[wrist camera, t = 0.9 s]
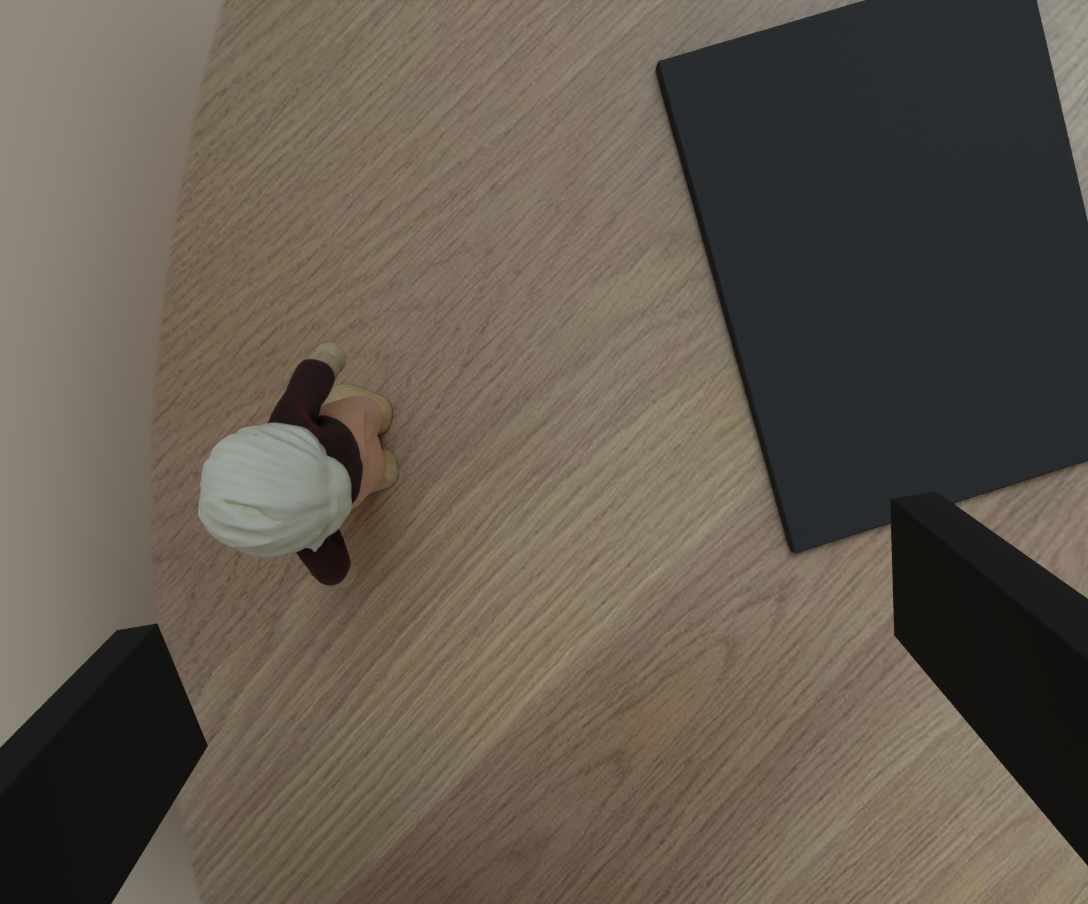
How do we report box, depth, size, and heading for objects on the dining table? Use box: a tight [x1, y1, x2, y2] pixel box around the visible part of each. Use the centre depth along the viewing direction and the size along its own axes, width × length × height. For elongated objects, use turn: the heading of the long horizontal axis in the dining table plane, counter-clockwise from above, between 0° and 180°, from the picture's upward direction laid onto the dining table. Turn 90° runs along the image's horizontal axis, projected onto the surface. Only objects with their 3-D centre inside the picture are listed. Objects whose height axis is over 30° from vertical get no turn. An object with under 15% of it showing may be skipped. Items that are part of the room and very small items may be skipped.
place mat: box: [656, 0, 1088, 553], centre depth 29 cm, size 20×15×1 cm
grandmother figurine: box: [198, 342, 399, 589], centre depth 22 cm, size 8×4×13 cm, turn 14°
